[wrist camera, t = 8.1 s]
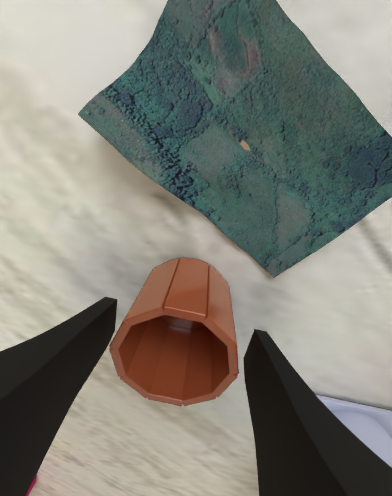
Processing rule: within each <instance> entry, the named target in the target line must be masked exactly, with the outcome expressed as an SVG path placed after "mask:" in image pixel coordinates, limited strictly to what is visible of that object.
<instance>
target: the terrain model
mask: <svg viewBox="0 0 392 496" xmlns="http://www.w3.org/2000/svg"><path fill="white" fill-rule="evenodd" d="M78 115H79V116H80V117H81V118H82V119H83V120H85V121H86V122H87V123H88V124H89V125H90V126H91V127H92V128H94V129H95V130H96V131H97V132H98V133H99V134H100V135H101V136H103V137H104V138H105V139H106V140H107V141H108V142H109V143H110V144H111V145H113V146H114V147H115V148H116V149H117V150H118V151H119V152H120V153H121V154H122V155H123V156H124V157H125V158H126V159H127V160H128V161H129V162H131V163H132V164H133V165H134V166H136V167H137V168H138V169H139V170H140V171H142V172H143V173H144V174H146V175H147V176H148V177H150V178H151V179H152V180H154V181H155V182H156V183H158V184H159V185H160V186H162V187H163V188H165V189H166V190H168V191H169V192H171V193H172V194H174V195H175V196H176V197H178V198H179V199H181V200H182V201H184V202H185V203H187V204H189V205H190V206H192V207H193V208H195V209H196V210H198V211H199V212H201V213H202V214H203V215H205V216H206V217H207V218H208V219H209V220H211V221H212V222H213V223H214V224H215V225H216V226H217V227H218V228H219V229H220V230H221V231H222V232H223V233H224V234H225V235H226V236H228V237H229V238H230V239H231V240H232V241H233V242H234V243H236V244H237V245H238V246H239V247H240V248H242V249H243V250H244V251H246V252H247V253H248V254H249V255H250V256H251V257H253V258H254V259H255V260H256V261H257V262H258V263H259V264H260V265H261V266H262V267H263V268H264V269H265V270H266V271H267V272H268V273H269V274H270V275H271V276H272V277H273V278H275V277H276V276H278V275H279V274H280V273H282V272H284V271H285V270H287V269H288V268H290V267H292V266H293V265H295V264H296V263H298V262H299V261H301V260H303V259H304V258H306V257H307V256H309V255H311V254H312V253H314V252H315V251H317V250H318V249H320V248H322V247H323V246H324V245H326V244H327V243H329V242H330V241H332V240H333V239H335V238H336V237H338V236H339V235H341V234H342V233H343V232H345V231H346V230H348V229H349V228H350V227H352V226H353V225H354V224H356V223H357V222H358V221H360V220H361V219H362V218H363V217H365V216H366V215H367V214H369V213H370V212H371V211H373V210H374V209H375V208H377V207H378V206H380V205H381V204H382V203H384V202H385V201H387V200H388V199H390V198H391V197H392V137H391V136H390V135H389V134H388V133H387V131H386V130H385V129H384V128H383V127H382V126H381V125H380V124H379V123H378V122H377V120H376V119H375V118H374V117H373V116H372V114H371V113H370V112H369V111H368V109H367V108H366V107H365V106H364V104H363V103H362V102H361V100H360V99H359V97H358V96H357V95H356V94H355V93H354V91H353V90H352V89H351V88H350V87H349V86H348V85H347V84H346V83H345V82H344V81H343V79H342V78H341V77H340V76H339V75H338V74H337V73H336V72H335V71H334V70H332V69H331V67H330V66H329V65H328V64H327V63H326V62H325V61H324V60H323V58H322V57H321V56H320V55H319V53H318V52H317V51H316V50H315V48H314V47H313V46H312V44H311V43H310V42H309V40H308V39H307V37H306V36H305V35H304V33H303V32H302V31H301V30H300V29H299V28H298V27H297V26H296V25H295V24H294V23H293V22H292V21H291V20H290V19H289V18H288V16H287V15H286V14H285V12H284V11H283V10H282V8H281V7H280V5H279V4H278V2H277V1H276V0H168V1H167V4H166V6H165V8H164V11H163V13H162V15H161V17H160V19H159V21H158V23H157V26H156V28H155V31H154V34H153V36H152V38H151V40H150V41H149V43H148V44H147V46H146V47H145V48H144V50H143V51H142V52H141V54H140V55H139V56H138V58H137V59H136V61H135V62H134V63H133V65H132V66H131V67H130V68H129V69H128V70H127V71H126V72H125V73H124V74H122V75H121V76H120V77H119V78H118V79H117V80H116V81H114V82H113V83H112V84H111V85H109V86H108V87H106V88H105V89H104V90H102V91H101V92H100V93H98V94H97V95H96V96H95V97H94V98H93V99H92V100H90V101H89V102H88V103H87V104H86V105H85V106H84V107H83V109H82V110H81V111H80V112H79V114H78Z"/></svg>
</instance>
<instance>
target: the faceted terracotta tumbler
mask: <svg viewBox="0 0 392 496" xmlns="http://www.w3.org/2000/svg"><path fill="white" fill-rule="evenodd" d="M110 353H111V356H112V359H113V362H114V365H115V368H116V371H117V374H118V376H119V377H120V379H121V380H122V381H124V382H125V383H126V384H128V385H129V386H130V387H132V388H133V389H134V390H136V391H137V392H138V393H139V394H141V395H142V396H143V397H145V398H147V397H148V399H149V400H154V401H159V402H163V403H168V404H173V405H178V406H182V404H183V405H184V406H188V405H192V404H196V403H200V402H204V401H209V400H213V399H216V397H219V396H220V395H221V394H222V393H223V392H224V391H225V390H226V388H227V387H228V386H229V385H230V384H231V383H232V382H233V381H234V380H235V379H236V378H237V376H238V375H237V374H239V370H238V354H237V342H236V334H235V327H234V319H233V312H232V304H231V297H230V289H229V285H228V283H227V282H226V281H225V279H224V278H223V277H222V276H221V275H220V273H219V272H218V271H217V270H216V269H215V268H214V267H212V266H211V265H209V264H208V263H206V262H203V261H201V260H197V259H193V258H177V259H173V260H170V261H167V262H165V263H164V264H162V265H160V266H157V267H155V268H154V269H153V270H152V272H151V273H150V275H149V277H148V279H147V280H146V282H145V284H144V286H143V287H142V289H141V291H140V293H139V294H138V296H137V298H136V300H135V301H134V303H133V305H132V307H131V308H130V310H129V312H128V314H127V315H126V317H125V319H124V320H123V322H122V324H121V326H120V328H119V330H118V331H117V333H116V335H115V337H114V339H113V341H112V342H111V344H110Z"/></svg>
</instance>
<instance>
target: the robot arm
mask: <svg viewBox="0 0 392 496" xmlns="http://www.w3.org/2000/svg"><path fill="white" fill-rule="evenodd" d="M116 309H117V299H113V298H109V297H105V298H103V299H101V300H100V301H98V302H96V303H95V304H93V305H92V306H90V307H88V308H87V309H85V310H83V311H82V312H80V313H78V314H77V315H75V316H73V317H72V318H70V319H68V320H67V321H65V322H63V323H61V324H59V325H57V326H55V327H54V328H52V329H50V330H48V331H46V332H44V333H42V334H40V335H38V336H36V337H34V338H31V339H29V340H27V341H25V342H23V343H20V344H18V345H16V346H13V347H11V348H8V349H5V350H3V351H0V496H26V495H27V492H28V490H29V488H30V486H31V484H32V482H33V480H34V478H35V476H36V474H37V472H38V470H39V468H40V465H41V463H42V461H43V459H44V457H45V455H46V453H47V451H48V449H49V447H50V445H51V443H52V441H53V439H54V437H55V435H56V433H57V431H58V429H59V427H60V425H61V424H62V422H63V420H64V418H65V416H66V414H67V412H68V410H69V408H70V406H71V404H72V403H73V401H74V399H75V398H76V396H77V394H78V392H79V391H80V389H81V388H82V386H83V385H84V383H85V381H86V380H87V378H88V377H89V375H90V374H91V372H92V370H93V369H94V367H95V366H96V364H97V363H98V361H99V359H100V358H101V356H102V355H103V353H104V351H105V350H106V348H107V346H108V344H109V342H110V340H111V338H112V335H113V333H114V331H115V322H116ZM244 376H245V384H246V390H247V396H248V402H249V408H250V414H251V419H252V425H253V431H254V438H255V447H256V458H257V470H258V484H259V496H392V411H390V410H385V409H381V408H376V407H371V406H367V405H362V404H357V403H352V402H348V401H343V400H338V399H334V398H329V397H324V396H320V395H315V394H314V392H313V391H312V390H311V389H310V388H309V387H308V385H307V384H306V383H305V382H304V381H303V379H302V378H301V377H300V376H299V375H298V373H297V372H296V371H295V369H294V368H293V367H292V366H291V364H290V363H289V362H288V360H287V359H286V358H285V356H284V355H283V354H282V352H281V351H280V349H279V348H278V347H277V345H276V344H275V343H274V341H273V340H272V338H271V337H270V336H269V334H268V333H267V332H266V331H261V330H256V329H255V330H254V333H253V335H252V338H251V340H250V343H249V346H248V348H247V351H246V354H245V356H244Z"/></svg>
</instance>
